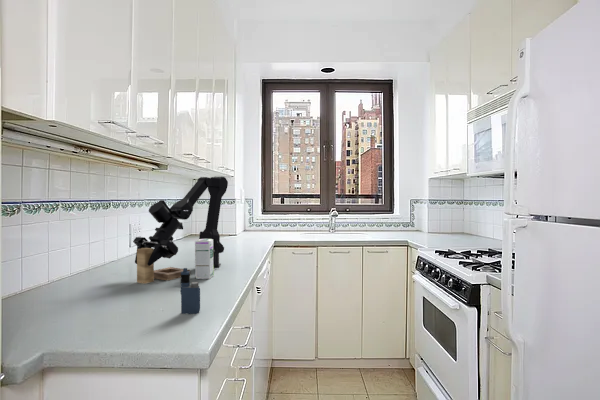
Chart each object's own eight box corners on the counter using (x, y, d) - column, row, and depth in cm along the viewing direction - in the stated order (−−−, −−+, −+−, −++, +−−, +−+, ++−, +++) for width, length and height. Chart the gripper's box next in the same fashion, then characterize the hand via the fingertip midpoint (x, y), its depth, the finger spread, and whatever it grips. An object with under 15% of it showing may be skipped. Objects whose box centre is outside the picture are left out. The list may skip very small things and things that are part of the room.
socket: (170, 272, 161) (170, 267, 161) (190, 275, 156) (190, 269, 156) (147, 277, 152) (147, 271, 152) (167, 280, 146) (167, 274, 146)
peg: (146, 280, 147) (146, 247, 147) (153, 281, 145) (153, 248, 144) (137, 282, 143) (136, 249, 143) (144, 283, 141) (144, 249, 141)
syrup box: (210, 279, 149) (210, 240, 149) (194, 279, 149) (194, 240, 149) (213, 275, 155) (214, 238, 155) (198, 275, 155) (198, 238, 155)
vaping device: (182, 311, 109) (182, 267, 109) (201, 311, 109) (201, 267, 109) (179, 313, 107) (179, 269, 107) (198, 314, 107) (198, 269, 106)
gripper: (195, 246, 152) (172, 280, 143) (161, 242, 162) (138, 274, 152) (179, 227, 145) (155, 261, 136) (145, 224, 155) (119, 256, 145)
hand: (142, 264), depth 143 cm, fingers open, 6 cm apart
